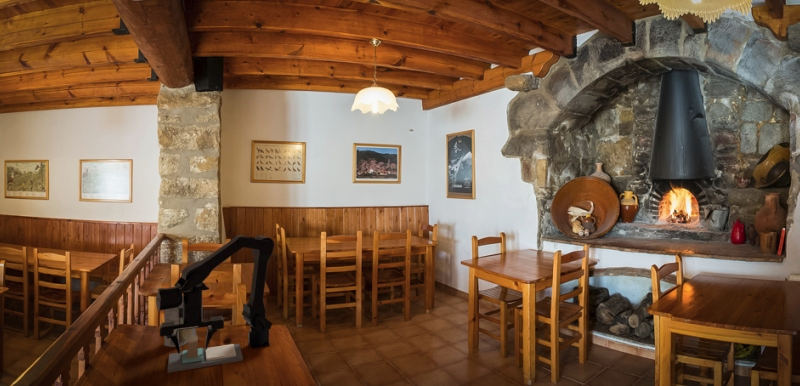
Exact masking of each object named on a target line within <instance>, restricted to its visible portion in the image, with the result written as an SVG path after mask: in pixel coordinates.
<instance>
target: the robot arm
mask: <svg viewBox="0 0 800 386" xmlns="http://www.w3.org/2000/svg"><path fill="white" fill-rule="evenodd" d="M243 248H247V249H251V250H252V251H251V252H252V257H253V259H254V263H253V272H252V279H251V287H250V295H249V300H248V301H247V303H243V304H242V312H241V316H242V319H243V320H244V321H245V322H246V323H248V326H249V327H250V328H249V331H248V333H247V334H248V337H247V338H248V341H247V342H248V345H249V347H250V348H251V349H254V348H261V347H267V346H268V347H269V346H270V345H271V343H270V330H271V329H272V326H273V323H272V322H271V321H270V320H268V318H266V316H267V315H266V307H265V302H264V295H265V289H266V287H265V286H266V278H267V272H268V271H267V270H268V263H269V261H270V259H271V257H272V255H273V252H274V249H275V241H274V240H273V239H272V238H271V237H268V236H264V235H256V236H255V237H253V236H247V235H242V234H238V235H235V236H234V237H233V238H232V239H231V240H229V241H228V242H226V243H225V244H223V245H222V246H221V247H219V248H218V249H217V250H215V251H214V252H212V253H211V254H210V255H208V256H206V257H205V258H203V259H201V260H198V261H196V262H193V263H190V264H189V265H188V266H185V267H184V268H183V269H182V271H181V275H180V276H179V278H178V279H177V281H176V282H175V284H174V286H170V287H161V288H160V287H159V288H157V292H156V293H157V294H156V297H155V305H156V310H157V311H158V312H161V311H164V310H166V309H172V308H178V307H179V306H180V305H181V304H182V301H183V308H179V318H183V324H176V325H174V321H173V322H162V323H161V324H160V328H159V337H164V336H167V338H171V340H172V341H173V343H174V345H175V347H174V348H175V349H176V351H177V353H178V354H180V352H181V347H180V345H179V338H178V330H185V329H193V328H196V329H199V328H200V329H201V328H206V327H207V328H206V337H205V343H204V344H205V347H204V349H205V350H207V348H209V344H210V342H211V339H212V337H213V336H214V334H215V333H217V332H218V330H222V329H224V328H225V321H224V317H223V316H222V315H218V316H217V315H215V316H210V319H209V320H204V321H203V291H209V290H210V287H209V286H207V285H206V284H205V282H204V281H205V280H206V279H208V277H209V276H210V275H211V273H212V272H213V270H215V268H217V267H218V266H220V265H221V264H222V263H223V262H225V261H227V260H228V259H229V258H230V257H232V256H233V255H235V254H236V253H238V252H239V251H240V250H241V249H243ZM182 296H183V297H182Z"/></svg>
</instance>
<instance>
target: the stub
mask: <svg viewBox="0 0 800 386" xmlns="http://www.w3.org/2000/svg"><path fill="white" fill-rule="evenodd" d="M198 338H199V336H198V335H196V336H191V337H188V343H187V349H184V350H182V352H183V356H182V364H184V363H191V362H197V361H203V349H204V348H203V347H199V339H198Z"/></svg>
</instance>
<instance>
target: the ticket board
mask: <svg viewBox="0 0 800 386" xmlns="http://www.w3.org/2000/svg"><path fill="white" fill-rule="evenodd" d="M202 349H203V361H197V362H191V363H184V364H182V356H183V351H180V354H178V352H173V353H169V354H168V355H169V356H168V363H167V364H168V365H167V374H168V373H174V372H175V373H176V372H182V371H188V370H193V369H199V368H206V367H212V366H217V365H223V364H224V365H225V364H229V363H235V362H242V361H243V360H244V356H243V352H242V349H241V346H240V343H235V344H234V343H231V344H230V343H229V344H225V345H224V344H223V345H218V346H211V347H207V350H205V348H202Z"/></svg>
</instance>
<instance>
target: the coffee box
mask: <svg viewBox="0 0 800 386" xmlns="http://www.w3.org/2000/svg"><path fill="white" fill-rule="evenodd" d="M182 297H183V295H182ZM179 308H183V301H182V304H181V305H180V306H179V307H178V308H172V309H166V310H163V315H164V317H163V321H164V322H173V321H174V325H176V324H183V318H179ZM164 322H163V323H164ZM191 336H197V328H193V329H185V330H178V338H179V345H180V348H181V347H182V346H184V345H186V344H188V337H191ZM163 337H164V341H163V342H164V347H171V348H176V347H175V345H174V343H173V341H172V340H171V338H167V336H163Z"/></svg>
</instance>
